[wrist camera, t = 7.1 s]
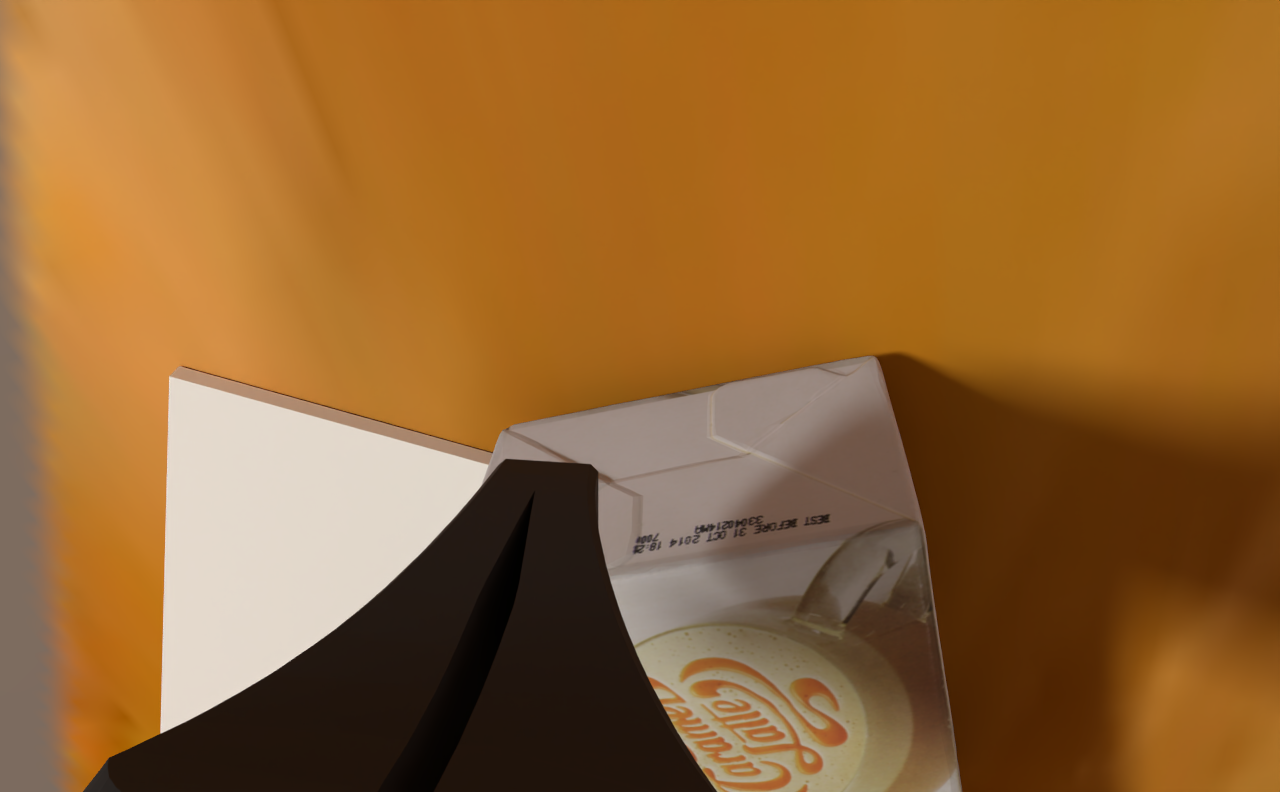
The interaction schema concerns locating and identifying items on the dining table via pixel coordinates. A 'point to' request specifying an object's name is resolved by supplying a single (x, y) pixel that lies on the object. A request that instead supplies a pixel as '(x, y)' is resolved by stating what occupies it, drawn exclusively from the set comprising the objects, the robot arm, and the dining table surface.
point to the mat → (284, 528)
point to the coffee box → (772, 576)
